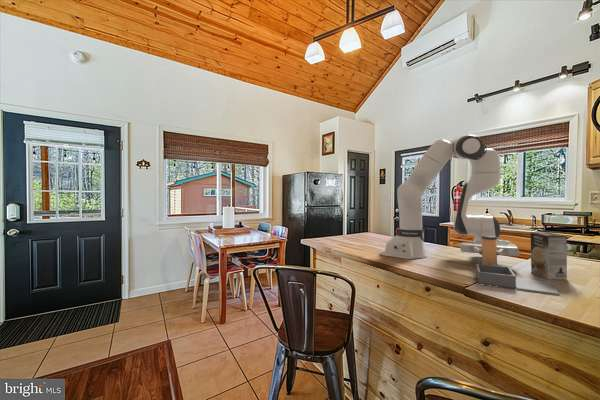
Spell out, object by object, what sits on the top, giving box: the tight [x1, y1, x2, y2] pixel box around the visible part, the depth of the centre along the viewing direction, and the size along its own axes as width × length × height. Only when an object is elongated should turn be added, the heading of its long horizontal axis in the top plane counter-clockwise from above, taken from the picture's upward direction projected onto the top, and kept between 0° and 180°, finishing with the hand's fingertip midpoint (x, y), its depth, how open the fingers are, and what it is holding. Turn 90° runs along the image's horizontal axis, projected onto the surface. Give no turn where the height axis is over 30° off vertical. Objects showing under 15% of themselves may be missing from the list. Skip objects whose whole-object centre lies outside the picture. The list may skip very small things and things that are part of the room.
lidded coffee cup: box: [481, 236, 498, 266], centre depth 103 cm, size 5×5×14 cm
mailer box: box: [475, 263, 560, 296], centre depth 87 cm, size 20×12×4 cm, turn 57°
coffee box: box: [530, 231, 568, 280], centre depth 94 cm, size 9×6×16 cm
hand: (489, 252), depth 102 cm, fingers closed on lidded coffee cup, 5 cm apart
